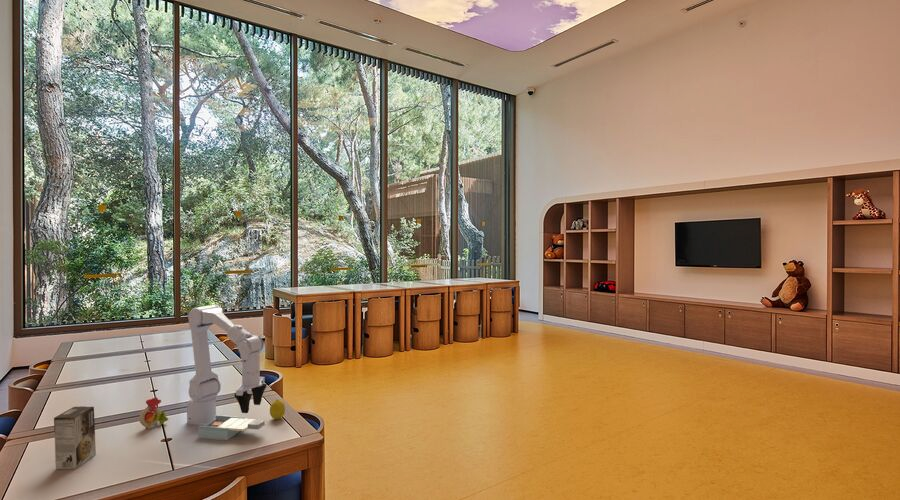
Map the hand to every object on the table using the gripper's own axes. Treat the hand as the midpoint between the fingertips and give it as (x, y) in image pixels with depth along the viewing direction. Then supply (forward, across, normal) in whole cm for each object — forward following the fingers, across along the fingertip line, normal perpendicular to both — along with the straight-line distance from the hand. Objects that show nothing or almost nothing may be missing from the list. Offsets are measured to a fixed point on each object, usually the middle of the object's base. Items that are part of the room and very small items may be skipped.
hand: (251, 408), depth 169 cm
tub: (+9, -2, +10) cm, 14 cm away
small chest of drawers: (+6, -2, +2) cm, 6 cm away
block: (+9, 0, +13) cm, 16 cm away
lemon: (+10, +13, -3) cm, 17 cm away
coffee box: (+10, -28, +42) cm, 52 cm away
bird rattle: (+10, 0, +39) cm, 41 cm away
